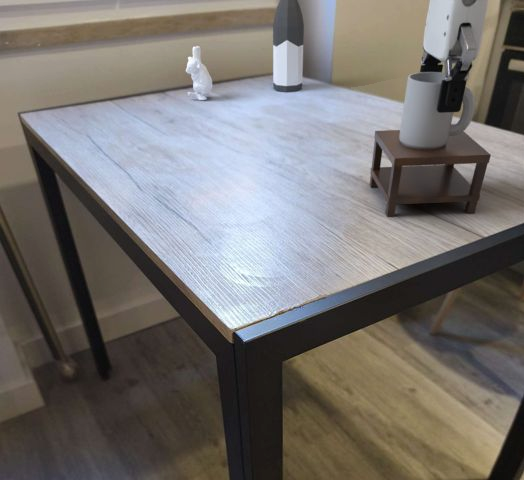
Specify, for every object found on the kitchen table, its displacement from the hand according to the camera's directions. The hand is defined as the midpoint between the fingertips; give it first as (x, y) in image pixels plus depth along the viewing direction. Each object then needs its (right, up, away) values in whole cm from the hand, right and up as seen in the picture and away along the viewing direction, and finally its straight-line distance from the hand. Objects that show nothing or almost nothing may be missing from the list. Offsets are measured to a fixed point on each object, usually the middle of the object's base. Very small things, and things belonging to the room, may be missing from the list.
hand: (437, 102), depth 75 cm
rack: (0, -11, +9) cm, 15 cm away
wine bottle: (-19, +37, +68) cm, 80 cm away
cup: (0, -5, +3) cm, 6 cm away
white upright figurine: (-42, +31, +62) cm, 81 cm away
